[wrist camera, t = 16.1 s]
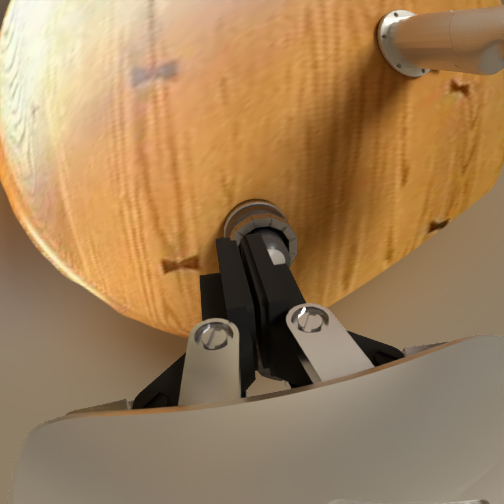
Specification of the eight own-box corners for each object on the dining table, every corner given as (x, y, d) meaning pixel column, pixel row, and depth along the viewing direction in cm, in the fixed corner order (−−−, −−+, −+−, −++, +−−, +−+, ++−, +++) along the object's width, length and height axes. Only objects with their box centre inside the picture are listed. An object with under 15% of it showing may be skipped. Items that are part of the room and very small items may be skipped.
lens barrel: (284, 194, 48) (299, 212, 42) (285, 250, 54) (298, 274, 47) (219, 201, 47) (223, 222, 41) (226, 258, 53) (231, 285, 46)
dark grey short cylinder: (281, 224, 44) (291, 241, 40) (281, 259, 47) (290, 278, 43) (239, 229, 44) (245, 247, 39) (243, 265, 47) (248, 285, 42)
